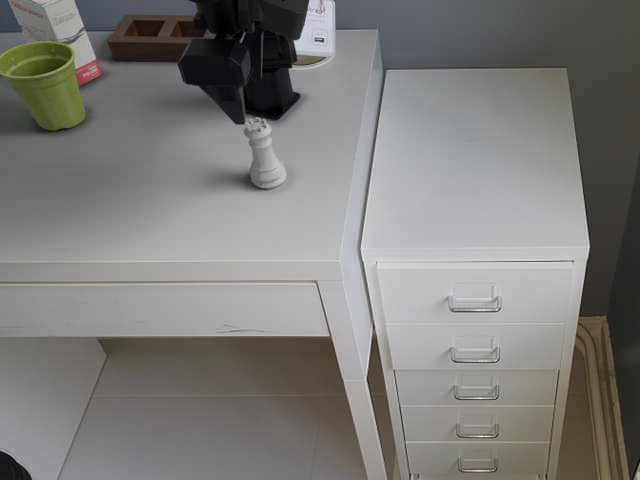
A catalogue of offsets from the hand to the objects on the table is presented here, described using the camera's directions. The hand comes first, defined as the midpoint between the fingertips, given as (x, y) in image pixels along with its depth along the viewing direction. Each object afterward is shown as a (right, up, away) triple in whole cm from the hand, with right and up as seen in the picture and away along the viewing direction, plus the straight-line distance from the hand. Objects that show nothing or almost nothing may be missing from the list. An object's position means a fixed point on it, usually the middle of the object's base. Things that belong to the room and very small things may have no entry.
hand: (249, 101), depth 84 cm
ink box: (-33, +12, +24) cm, 43 cm away
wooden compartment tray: (-21, +18, +29) cm, 40 cm away
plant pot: (-31, +3, +16) cm, 35 cm away
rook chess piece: (0, -7, +9) cm, 11 cm away
